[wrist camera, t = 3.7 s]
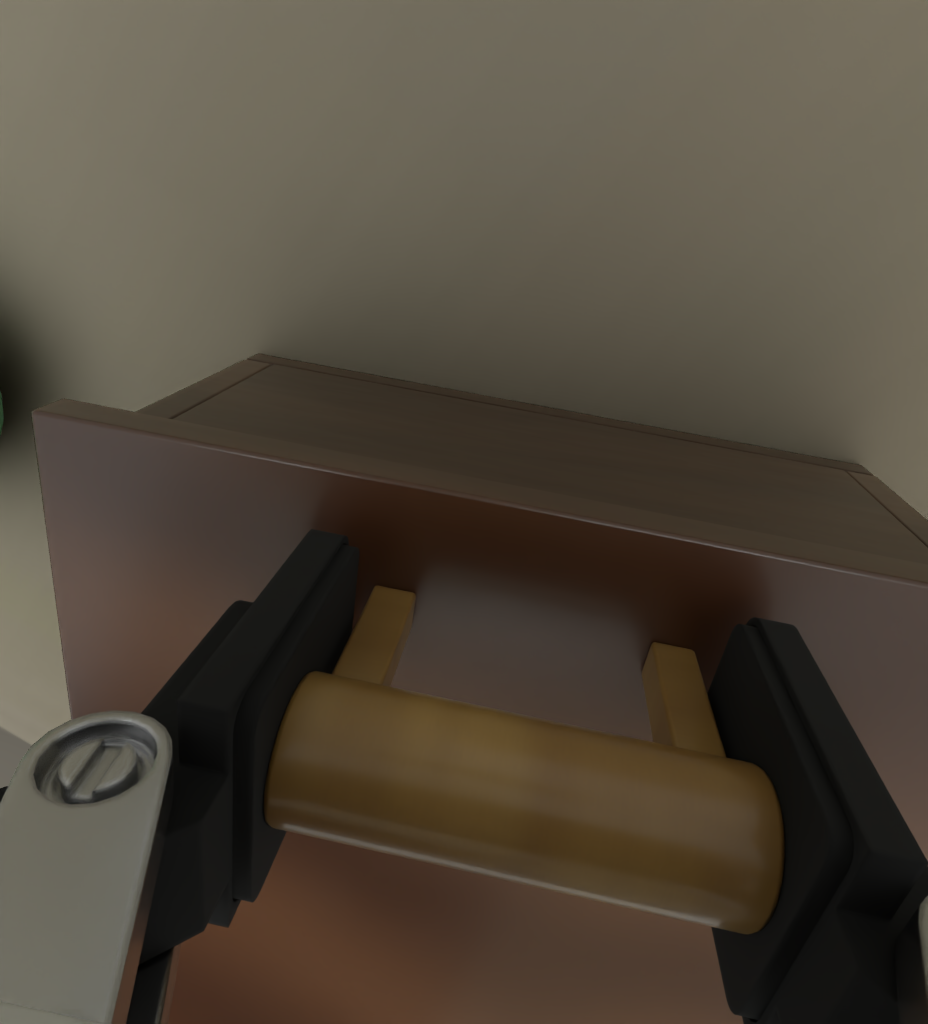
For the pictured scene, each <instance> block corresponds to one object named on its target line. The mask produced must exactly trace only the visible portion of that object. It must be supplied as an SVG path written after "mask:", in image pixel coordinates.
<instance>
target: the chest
mask: <svg viewBox="0 0 928 1024" xmlns="http://www.w3.org/2000/svg"><path fill="white" fill-rule="evenodd" d="M136 413H142V414H147V415H152V416H157V417H162V418H168V419H173V420H178V421H183V422H188V423H194V424H199V425H204V426H209V427H214V428H220V429H225V430H230V431H235V432H240V433H246V434H251V435H256V436H261V437H266V438H272V439H277V440H282V441H287V442H292V443H298V444H303V445H308V446H313V447H318V448H324V449H329V450H334V451H339V452H344V453H350V454H355V455H360V456H365V457H370V458H376V459H381V460H386V461H391V462H396V463H402V464H407V465H412V466H417V467H422V468H428V469H433V470H438V471H443V472H448V473H454V474H459V475H464V476H469V477H474V478H480V479H485V480H490V481H495V482H500V483H506V484H511V485H516V486H521V487H526V488H532V489H537V490H542V491H547V492H552V493H558V494H563V495H568V496H573V497H578V498H584V499H589V500H594V501H599V502H604V503H610V504H615V505H620V506H625V507H630V508H636V509H641V510H646V511H651V512H656V513H662V514H667V515H672V516H677V517H682V518H688V519H693V520H698V521H703V522H708V523H714V524H719V525H724V526H729V527H734V528H740V529H745V530H750V531H755V532H760V533H766V534H771V535H776V536H781V537H786V538H792V539H797V540H802V541H807V542H812V543H818V544H823V545H828V546H833V547H838V548H844V549H849V550H854V551H859V552H864V553H870V554H875V555H880V556H885V557H890V558H896V559H901V560H906V561H911V562H916V563H922V564H927V565H928V520H926V519H925V518H924V517H923V516H922V515H921V514H919V513H918V512H917V511H916V510H915V509H914V508H912V507H911V506H910V505H909V504H908V503H907V502H905V501H904V500H903V499H902V498H901V497H899V496H898V495H897V494H896V493H895V492H894V491H892V490H891V489H890V488H889V487H888V486H887V485H885V484H884V483H883V482H882V481H881V480H879V479H878V478H877V477H876V476H874V475H873V474H872V473H870V472H869V471H868V470H867V469H866V468H865V467H863V466H862V465H856V464H851V463H845V462H840V461H835V460H829V459H824V458H818V457H813V456H808V455H802V454H797V453H791V452H786V451H781V450H775V449H770V448H764V447H759V446H754V445H748V444H743V443H738V442H732V441H727V440H721V439H716V438H711V437H705V436H700V435H694V434H689V433H684V432H678V431H673V430H667V429H662V428H657V427H651V426H646V425H640V424H635V423H630V422H624V421H619V420H613V419H608V418H603V417H597V416H592V415H586V414H581V413H576V412H570V411H565V410H559V409H554V408H549V407H543V406H538V405H532V404H527V403H522V402H516V401H511V400H505V399H500V398H495V397H489V396H484V395H478V394H473V393H468V392H462V391H457V390H451V389H446V388H441V387H435V386H430V385H424V384H419V383H414V382H408V381H403V380H398V379H392V378H387V377H381V376H376V375H371V374H365V373H360V372H354V371H349V370H344V369H338V368H333V367H327V366H322V365H317V364H311V363H306V362H300V361H295V360H290V359H284V358H279V357H273V356H268V355H263V354H256V355H254V356H252V357H249V358H247V360H243V361H241V362H238V363H236V364H234V365H232V366H230V367H228V368H226V369H224V370H222V371H220V372H218V373H215V374H213V375H211V376H209V377H207V378H205V379H203V380H201V381H199V382H197V383H195V384H192V385H190V386H188V387H186V388H184V389H182V390H180V391H178V392H176V393H174V394H172V395H169V396H167V397H165V398H163V399H161V400H159V401H157V402H155V403H153V404H151V405H149V406H146V407H144V408H142V409H140V410H138V411H136Z"/></svg>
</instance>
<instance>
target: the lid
mask: <svg viewBox="0 0 928 1024" xmlns="http://www.w3.org/2000/svg"><path fill="white" fill-rule="evenodd" d="M31 417H32V424H33V432H34V440H35V447H36V455H37V462H38V470H39V477H40V485H41V493H42V500H43V508H44V515H45V523H46V530H47V538H48V546H49V553H50V561H51V568H52V576H53V584H54V591H55V599H56V606H57V614H58V621H59V629H60V637H61V644H62V652H63V659H64V667H65V674H66V682H67V690H68V697H69V705H70V712H71V720H72V719H76V718H79V717H82V716H85V715H88V714H91V713H97V712H105V711H113V710H118V711H131V712H138V713H141V712H142V711H143V710H144V709H145V708H146V706H147V705H148V704H149V703H150V702H151V700H152V699H153V698H154V697H155V696H156V694H157V693H158V692H159V691H160V690H161V688H162V687H163V686H164V685H165V684H166V682H167V681H168V680H169V679H170V678H171V676H172V675H173V674H174V673H175V672H176V670H177V669H178V668H179V667H180V666H181V664H182V663H183V662H184V661H185V660H186V658H187V657H188V656H189V655H190V654H191V652H192V651H193V650H194V649H195V647H196V646H197V645H198V644H199V643H200V641H201V640H202V639H203V638H204V637H205V635H206V634H207V633H208V632H209V631H210V629H211V628H212V627H213V626H214V625H215V623H216V622H217V621H218V620H219V619H220V617H221V616H222V615H223V614H224V613H225V611H226V610H227V609H228V608H229V607H230V606H231V605H232V604H233V603H234V602H235V601H238V600H243V601H248V602H254V601H255V600H256V598H257V597H258V596H259V594H260V593H261V592H262V591H263V589H264V588H265V587H266V585H267V584H268V583H269V582H270V580H271V579H272V578H273V576H274V575H275V574H276V573H277V571H278V570H279V569H280V568H281V566H282V565H283V564H284V562H285V561H286V560H287V559H288V557H289V556H290V555H291V553H292V552H293V551H294V550H295V548H296V547H297V546H298V544H299V543H300V542H301V541H302V539H303V538H304V537H305V535H306V534H307V533H308V532H309V531H310V530H311V529H315V530H320V531H325V532H330V533H335V534H340V535H345V536H347V537H348V540H349V546H353V547H358V548H359V565H358V576H357V586H356V596H355V607H354V617H353V627H352V633H351V635H350V637H349V639H348V641H347V643H346V645H345V647H344V649H343V652H342V654H341V656H340V658H339V660H338V662H337V664H336V666H335V668H334V670H333V672H332V674H329V673H324V672H319V671H313V672H309V673H308V674H306V675H305V676H304V677H303V679H302V680H301V681H300V683H299V684H298V686H297V688H296V689H295V691H294V693H293V695H292V697H291V699H290V701H289V704H288V706H287V708H286V711H285V713H284V716H283V718H282V721H281V724H280V727H279V730H278V733H277V736H276V740H275V743H274V746H273V750H272V754H271V758H270V762H269V767H268V772H267V777H266V783H265V791H264V818H265V821H266V823H267V824H268V825H270V826H271V827H272V828H275V829H280V830H284V831H287V832H286V834H285V836H284V839H283V841H282V843H281V846H280V848H279V850H278V852H277V855H276V857H275V859H274V861H273V864H272V866H271V868H270V871H269V873H268V875H267V877H266V880H265V882H264V884H263V886H262V889H261V891H260V893H259V895H258V897H257V898H256V900H255V901H254V902H253V903H252V902H247V901H243V900H241V902H240V904H239V906H238V908H237V910H236V913H235V915H234V917H233V919H232V921H231V923H230V926H229V928H226V927H222V926H218V925H214V924H209V923H208V924H207V926H206V928H205V930H204V931H203V932H201V933H200V934H198V935H196V936H194V937H192V938H190V939H188V940H186V941H184V942H182V943H181V948H180V954H179V960H178V966H177V973H176V979H175V985H174V991H173V997H172V1003H171V1010H170V1016H169V1022H168V1024H744V1023H743V1019H742V1016H738V1015H734V1014H733V1013H732V1012H731V1010H730V1008H729V1006H728V1003H727V999H726V995H725V990H724V985H723V981H722V976H721V971H720V966H719V961H718V957H717V952H716V947H715V942H714V937H713V933H712V928H711V927H714V928H719V929H723V930H728V931H732V932H736V933H741V934H752V933H755V932H759V931H760V930H761V929H763V928H764V927H765V926H766V925H767V923H768V922H769V920H770V918H771V917H772V915H773V912H774V910H775V907H776V905H777V902H778V898H779V894H780V891H781V885H782V880H783V872H784V859H785V838H784V825H783V818H782V812H781V807H780V803H779V799H778V796H777V793H776V790H775V788H774V785H773V783H772V781H771V779H770V778H769V776H768V775H767V774H766V772H765V771H764V770H763V769H761V768H760V767H758V766H757V765H755V764H753V763H750V762H745V761H740V760H736V759H731V758H727V757H726V754H725V751H724V748H723V744H722V741H721V738H720V734H719V731H718V728H717V724H716V721H715V718H714V714H713V711H712V708H711V704H710V701H709V698H708V695H707V693H708V691H709V688H710V685H711V683H712V680H713V678H714V675H715V673H716V670H717V668H718V665H719V663H720V660H721V658H722V655H723V652H724V650H725V647H726V645H727V642H728V640H729V637H730V635H731V632H732V630H733V628H734V627H735V626H736V625H737V624H743V625H746V624H747V622H748V621H749V620H750V619H751V618H753V617H757V618H762V619H767V620H772V621H777V622H782V623H787V624H791V625H794V626H795V627H796V628H797V629H798V631H799V633H800V635H801V636H802V638H803V640H804V642H805V644H806V645H807V647H808V649H809V651H810V652H811V654H812V656H813V658H814V660H815V661H816V663H817V665H818V667H819V669H820V670H821V672H822V674H823V676H824V677H825V679H826V681H827V683H828V685H829V686H830V688H831V690H832V692H833V693H834V695H835V697H836V699H837V701H838V702H839V704H840V706H841V708H842V709H843V711H844V713H845V715H846V717H847V718H848V720H849V722H850V724H851V726H852V727H853V729H854V731H855V733H856V734H857V736H858V738H859V740H860V742H861V743H862V745H863V747H864V749H865V750H866V752H867V754H868V756H869V758H870V759H871V761H872V763H873V765H874V766H875V768H876V770H877V772H878V774H879V775H880V777H881V779H882V781H883V783H884V784H885V786H886V788H887V790H888V791H889V793H890V795H891V797H892V799H893V800H894V802H895V804H896V806H897V807H898V809H899V811H900V813H901V815H902V816H903V818H904V820H905V822H906V824H907V825H908V827H909V829H910V831H911V832H912V834H913V836H914V838H915V840H916V841H917V843H918V845H919V847H920V848H921V850H922V852H923V854H924V856H925V857H926V859H927V861H928V565H927V564H922V563H916V562H911V561H906V560H901V559H896V558H890V557H885V556H880V555H875V554H870V553H864V552H859V551H854V550H849V549H844V548H838V547H833V546H828V545H823V544H818V543H812V542H807V541H802V540H797V539H792V538H786V537H781V536H776V535H771V534H766V533H760V532H755V531H750V530H745V529H740V528H734V527H729V526H724V525H719V524H714V523H708V522H703V521H698V520H693V519H688V518H682V517H677V516H672V515H667V514H662V513H656V512H651V511H646V510H641V509H636V508H630V507H625V506H620V505H615V504H610V503H604V502H599V501H594V500H589V499H584V498H578V497H573V496H568V495H563V494H558V493H552V492H547V491H542V490H537V489H532V488H526V487H521V486H516V485H511V484H506V483H500V482H495V481H490V480H485V479H480V478H474V477H469V476H464V475H459V474H454V473H448V472H443V471H438V470H433V469H428V468H422V467H417V466H412V465H407V464H402V463H396V462H391V461H386V460H381V459H376V458H370V457H365V456H360V455H355V454H350V453H344V452H339V451H334V450H329V449H324V448H318V447H313V446H308V445H303V444H298V443H292V442H287V441H282V440H277V439H272V438H266V437H261V436H256V435H251V434H246V433H240V432H235V431H230V430H225V429H220V428H214V427H209V426H204V425H199V424H194V423H188V422H183V421H178V420H173V419H168V418H162V417H157V416H152V415H147V414H142V413H136V412H131V411H126V410H121V409H116V408H110V407H105V406H100V405H95V404H90V403H84V402H79V401H74V400H69V399H61V400H58V401H55V402H53V403H50V404H48V405H45V406H42V407H40V408H37V409H34V410H33V411H32V413H31ZM927 866H928V865H927Z"/></svg>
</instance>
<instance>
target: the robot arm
mask: <svg viewBox="0 0 928 1024" xmlns="http://www.w3.org/2000/svg"><path fill="white" fill-rule="evenodd" d="M358 565H359V548H358V547H353V546H349V540H348V537H347V536H345V535H340V534H335V533H330V532H325V531H320V530H315V529H311V530H310V531H309V532H308V533H307V534H306V535H305V537H304V538H303V539H302V541H301V542H300V543H299V544H298V546H297V547H296V548H295V550H294V551H293V552H292V553H291V555H290V556H289V557H288V559H287V560H286V561H285V562H284V564H283V565H282V566H281V568H280V569H279V570H278V571H277V573H276V574H275V575H274V576H273V578H272V579H271V580H270V582H269V583H268V584H267V585H266V587H265V588H264V589H263V591H262V592H261V593H260V594H259V596H258V597H257V598H256V600H255V601H254V602H248V601H243V600H238V601H235V602H234V603H233V604H232V605H231V606H230V607H229V608H228V609H227V610H226V611H225V613H224V614H223V615H222V616H221V617H220V619H219V620H218V621H217V622H216V623H215V625H214V626H213V627H212V628H211V629H210V631H209V632H208V633H207V634H206V635H205V637H204V638H203V639H202V640H201V641H200V643H199V644H198V645H197V646H196V647H195V649H194V650H193V651H192V652H191V654H190V655H189V656H188V657H187V658H186V660H185V661H184V662H183V663H182V664H181V666H180V667H179V668H178V669H177V670H176V672H175V673H174V674H173V675H172V676H171V678H170V679H169V680H168V681H167V682H166V684H165V685H164V686H163V687H162V688H161V690H160V691H159V692H158V693H157V694H156V696H155V697H154V698H153V699H152V700H151V702H150V703H149V704H148V705H147V706H146V708H145V709H144V710H143V711H142V712H141V713H138V712H131V711H118V710H113V711H105V712H97V713H91V714H88V715H85V716H82V717H79V718H76V719H72V720H69V721H68V722H66V723H64V724H62V725H60V726H58V727H56V728H54V729H52V730H51V731H49V732H48V733H46V734H45V735H44V736H43V737H42V738H40V739H39V740H38V741H37V742H36V743H34V744H33V745H32V746H31V747H30V749H29V750H28V751H27V753H26V754H25V756H24V757H23V759H22V760H21V761H20V763H19V765H18V767H17V769H16V771H15V773H14V775H13V777H12V779H11V781H10V784H9V786H6V787H3V788H0V1024H168V1022H169V1016H170V1010H171V1003H172V997H173V991H174V985H175V979H176V973H177V966H178V960H179V954H180V948H181V943H182V942H184V941H186V940H188V939H190V938H192V937H194V936H196V935H198V934H200V933H201V932H203V931H204V930H205V928H206V926H207V924H208V923H209V924H214V925H218V926H222V927H226V928H229V926H230V923H231V921H232V919H233V917H234V915H235V913H236V910H237V908H238V906H239V904H240V902H241V900H243V901H247V902H252V903H253V902H254V901H255V900H256V898H257V897H258V895H259V893H260V891H261V889H262V886H263V884H264V882H265V880H266V877H267V875H268V873H269V871H270V868H271V866H272V864H273V861H274V859H275V857H276V855H277V852H278V850H279V848H280V846H281V843H282V841H283V839H284V836H285V834H286V832H287V831H284V830H280V829H275V828H272V827H271V826H270V825H268V824H267V823H266V821H265V818H264V791H265V783H266V777H267V772H268V767H269V762H270V758H271V754H272V750H273V746H274V743H275V740H276V736H277V733H278V730H279V727H280V724H281V721H282V718H283V716H284V713H285V711H286V708H287V706H288V704H289V701H290V699H291V697H292V695H293V693H294V691H295V689H296V688H297V686H298V684H299V683H300V681H301V680H302V679H303V677H304V676H305V675H306V674H308V673H309V672H313V671H319V672H324V673H329V674H332V672H333V670H334V668H335V666H336V664H337V662H338V660H339V658H340V656H341V654H342V652H343V649H344V647H345V645H346V643H347V641H348V639H349V637H350V635H351V633H352V627H353V617H354V607H355V596H356V586H357V576H358ZM707 695H708V698H709V701H710V704H711V708H712V711H713V714H714V718H715V721H716V724H717V728H718V731H719V734H720V738H721V741H722V744H723V748H724V751H725V754H726V757H727V758H731V759H736V760H740V761H745V762H750V763H753V764H755V765H757V766H758V767H760V768H761V769H763V770H764V771H765V772H766V774H767V775H768V776H769V778H770V779H771V781H772V783H773V785H774V788H775V790H776V793H777V796H778V799H779V803H780V807H781V812H782V818H783V825H784V838H785V859H784V872H783V880H782V885H781V891H780V894H779V898H778V902H777V905H776V907H775V910H774V912H773V915H772V917H771V918H770V920H769V922H768V923H767V925H766V926H765V927H764V928H763V929H761V930H760V931H759V932H755V933H752V934H741V933H736V932H732V931H728V930H723V929H719V928H714V927H711V928H712V933H713V937H714V942H715V947H716V952H717V957H718V961H719V966H720V971H721V976H722V981H723V985H724V990H725V995H726V999H727V1003H728V1006H729V1008H730V1010H731V1012H732V1013H733V1014H734V1015H738V1016H742V1019H743V1023H744V1024H928V866H927V865H928V861H927V859H926V857H925V856H924V854H923V852H922V850H921V848H920V847H919V845H918V843H917V841H916V840H915V838H914V836H913V834H912V832H911V831H910V829H909V827H908V825H907V824H906V822H905V820H904V818H903V816H902V815H901V813H900V811H899V809H898V807H897V806H896V804H895V802H894V800H893V799H892V797H891V795H890V793H889V791H888V790H887V788H886V786H885V784H884V783H883V781H882V779H881V777H880V775H879V774H878V772H877V770H876V768H875V766H874V765H873V763H872V761H871V759H870V758H869V756H868V754H867V752H866V750H865V749H864V747H863V745H862V743H861V742H860V740H859V738H858V736H857V734H856V733H855V731H854V729H853V727H852V726H851V724H850V722H849V720H848V718H847V717H846V715H845V713H844V711H843V709H842V708H841V706H840V704H839V702H838V701H837V699H836V697H835V695H834V693H833V692H832V690H831V688H830V686H829V685H828V683H827V681H826V679H825V677H824V676H823V674H822V672H821V670H820V669H819V667H818V665H817V663H816V661H815V660H814V658H813V656H812V654H811V652H810V651H809V649H808V647H807V645H806V644H805V642H804V640H803V638H802V636H801V635H800V633H799V631H798V629H797V628H796V627H795V626H794V625H791V624H787V623H782V622H777V621H772V620H767V619H762V618H757V617H753V618H751V619H750V620H749V621H748V622H747V624H746V625H743V624H737V625H736V626H735V627H734V628H733V630H732V632H731V635H730V637H729V640H728V642H727V645H726V647H725V650H724V652H723V655H722V658H721V660H720V663H719V665H718V668H717V670H716V673H715V675H714V678H713V680H712V683H711V685H710V688H709V691H708V693H707Z"/></svg>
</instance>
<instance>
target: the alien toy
mask: <svg viewBox="0 0 928 1024" xmlns="http://www.w3.org/2000/svg"><path fill="white" fill-rule="evenodd" d="M3 420H4V416H3V404H2V395H1V391H0V435H1V430H2V425H3Z"/></svg>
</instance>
